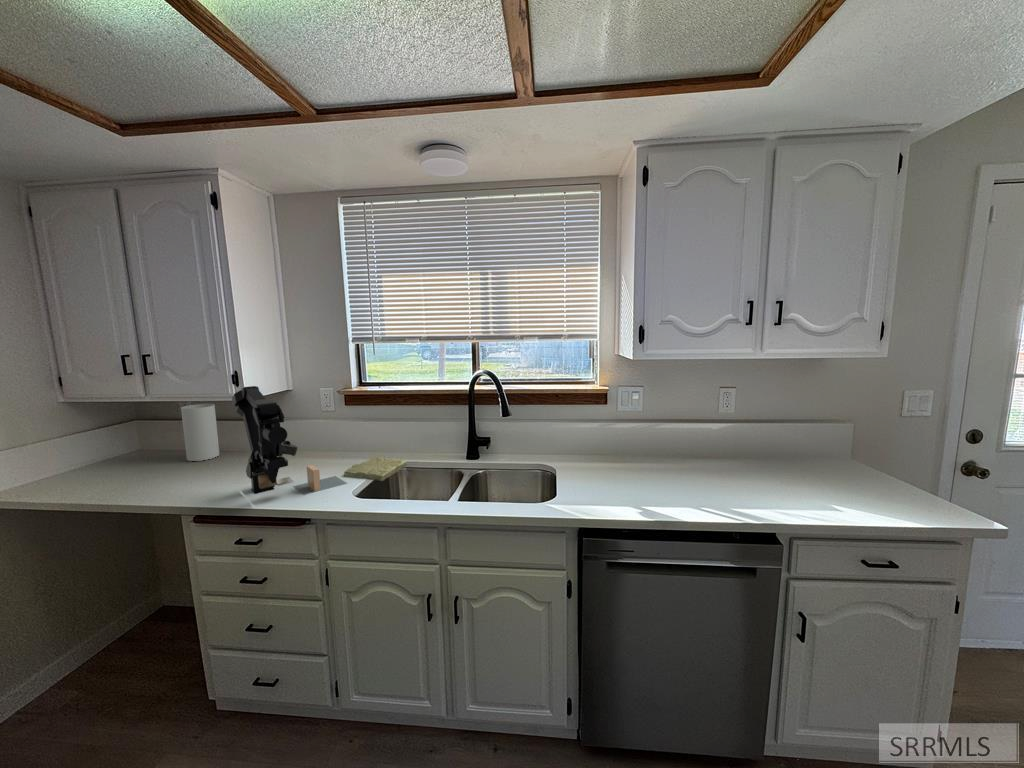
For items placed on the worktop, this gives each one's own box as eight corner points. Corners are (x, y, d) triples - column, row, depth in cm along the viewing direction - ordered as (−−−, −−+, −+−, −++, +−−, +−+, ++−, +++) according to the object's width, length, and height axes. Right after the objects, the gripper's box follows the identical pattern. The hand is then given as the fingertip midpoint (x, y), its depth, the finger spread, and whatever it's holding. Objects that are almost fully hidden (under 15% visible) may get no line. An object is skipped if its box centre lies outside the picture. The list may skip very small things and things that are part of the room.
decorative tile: (407, 466, 183) (407, 458, 182) (382, 482, 163) (382, 474, 163) (369, 463, 187) (369, 455, 187) (341, 478, 168) (341, 470, 167)
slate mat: (303, 496, 149) (303, 494, 149) (293, 487, 157) (292, 486, 157) (347, 484, 160) (347, 483, 160) (335, 477, 168) (335, 475, 168)
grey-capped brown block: (261, 489, 140) (260, 478, 140) (257, 486, 144) (256, 474, 143) (293, 482, 147) (292, 471, 147) (289, 478, 151) (288, 468, 150)
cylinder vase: (204, 453, 203) (198, 403, 200) (226, 454, 201) (221, 404, 198) (179, 461, 191) (173, 408, 188) (203, 462, 189) (197, 408, 186)
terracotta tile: (314, 491, 152) (313, 470, 151) (308, 486, 157) (306, 466, 156) (320, 489, 153) (319, 469, 152) (314, 485, 158) (312, 464, 157)
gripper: (302, 439, 142) (305, 482, 144) (286, 430, 155) (289, 470, 157) (266, 445, 134) (270, 491, 136) (252, 435, 147) (255, 477, 149)
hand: (272, 482), depth 145 cm, fingers closed on grey-capped brown block, 2 cm apart
